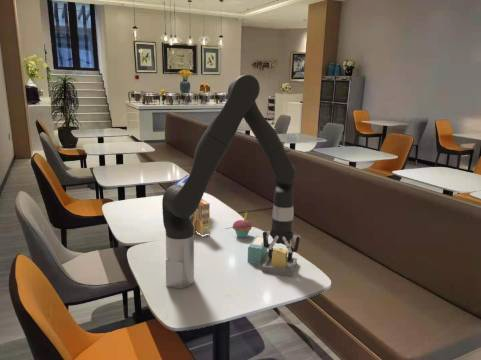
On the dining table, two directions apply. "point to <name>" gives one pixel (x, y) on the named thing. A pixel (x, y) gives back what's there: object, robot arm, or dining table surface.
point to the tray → (287, 271)
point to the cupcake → (242, 227)
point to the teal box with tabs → (256, 250)
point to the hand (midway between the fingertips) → (280, 259)
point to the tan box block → (279, 258)
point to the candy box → (202, 218)
